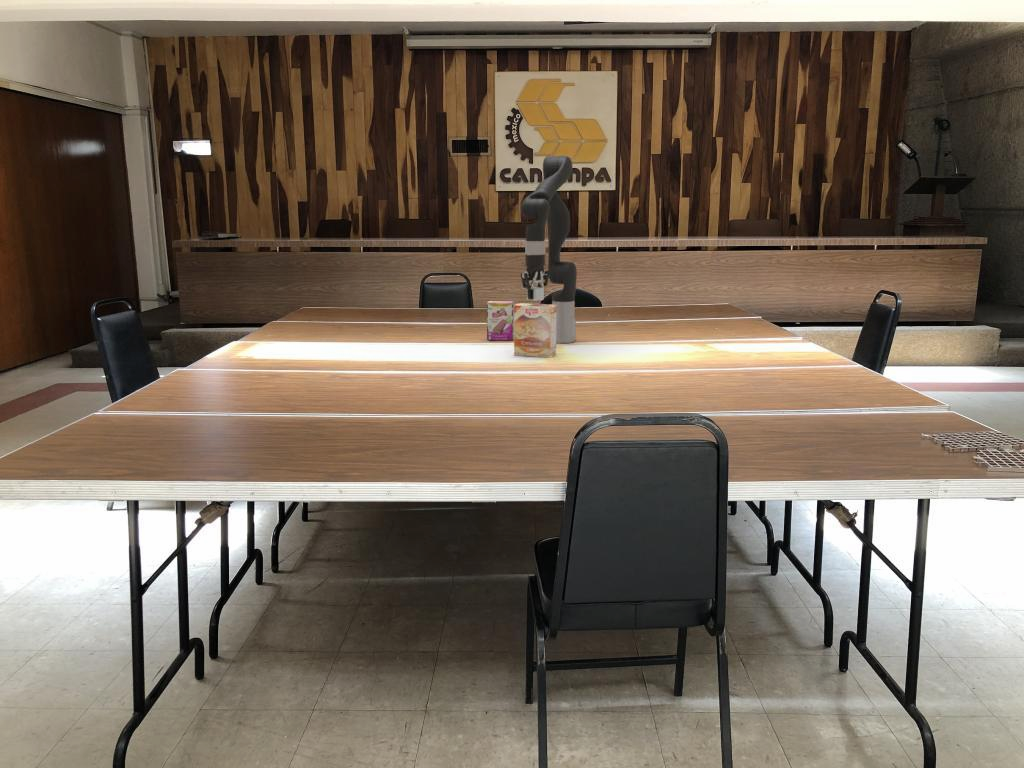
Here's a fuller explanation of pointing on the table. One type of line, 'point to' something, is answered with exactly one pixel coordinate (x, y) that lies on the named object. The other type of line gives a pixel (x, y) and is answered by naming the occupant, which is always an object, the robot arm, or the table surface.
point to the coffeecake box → (535, 329)
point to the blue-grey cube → (537, 293)
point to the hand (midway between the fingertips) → (535, 298)
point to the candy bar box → (500, 320)
